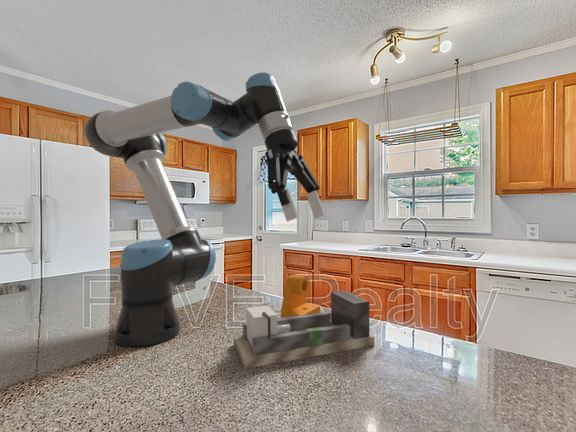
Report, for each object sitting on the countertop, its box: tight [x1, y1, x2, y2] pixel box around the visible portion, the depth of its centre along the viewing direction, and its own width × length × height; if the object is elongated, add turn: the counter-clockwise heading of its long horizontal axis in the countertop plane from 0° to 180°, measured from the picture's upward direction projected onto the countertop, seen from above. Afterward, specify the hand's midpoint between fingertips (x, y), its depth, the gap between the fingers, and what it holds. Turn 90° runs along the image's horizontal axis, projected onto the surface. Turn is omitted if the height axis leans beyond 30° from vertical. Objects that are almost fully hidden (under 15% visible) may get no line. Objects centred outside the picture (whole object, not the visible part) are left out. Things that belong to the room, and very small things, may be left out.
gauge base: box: [233, 290, 376, 370], centre depth 73 cm, size 30×12×10 cm, turn 110°
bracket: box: [280, 274, 321, 318], centre depth 92 cm, size 11×7×12 cm, turn 147°
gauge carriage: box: [246, 305, 291, 346], centre depth 69 cm, size 9×10×7 cm
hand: (307, 217), depth 73 cm, fingers open, 13 cm apart
